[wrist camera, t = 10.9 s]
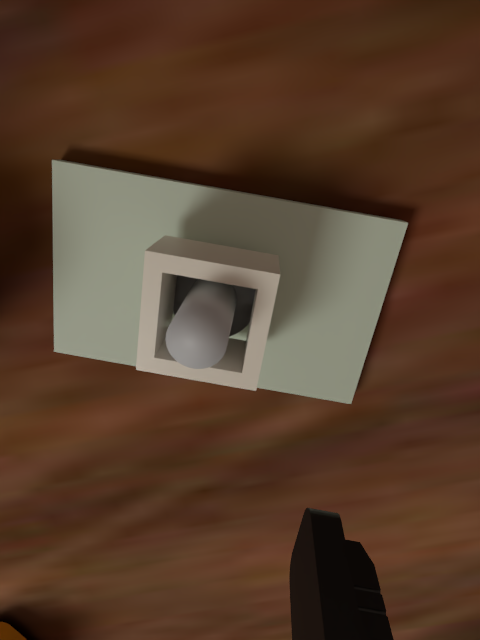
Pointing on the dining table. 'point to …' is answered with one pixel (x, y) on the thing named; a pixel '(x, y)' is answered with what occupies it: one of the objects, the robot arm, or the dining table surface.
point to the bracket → (9, 632)
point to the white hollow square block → (210, 265)
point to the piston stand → (213, 297)
